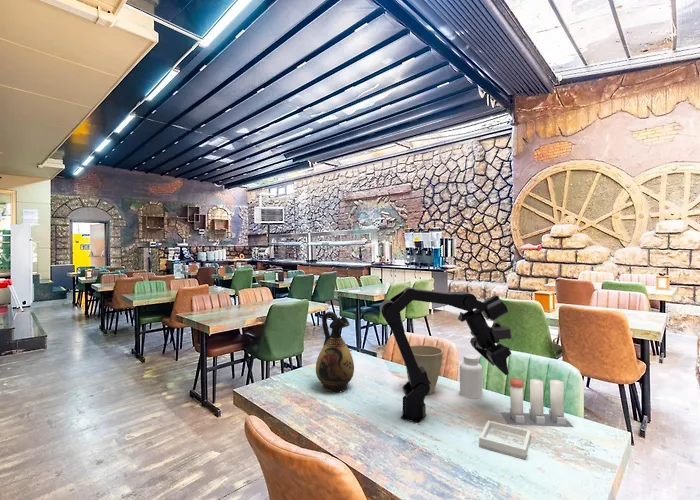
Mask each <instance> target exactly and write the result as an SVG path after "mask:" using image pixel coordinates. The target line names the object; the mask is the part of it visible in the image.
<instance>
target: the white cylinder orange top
mask: <svg viewBox="0 0 700 500" xmlns="http://www.w3.org/2000/svg"><path fill="white" fill-rule="evenodd" d="M509 386H510V387H509V389H510V390H509V392H510V396H509V397H510V402H509V404H510V408H511V419H512V420H515V415H520V416H523V413H524V380H522V379H520V378H510V379H509Z"/></svg>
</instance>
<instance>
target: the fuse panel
mask: <svg viewBox="0 0 700 500" xmlns="http://www.w3.org/2000/svg"><path fill="white" fill-rule="evenodd" d="M529 386H530V387H529V395H530V396H529V398H530V401H529V402H530V408H529V411H528V413H526V412H523V416H520V415H515V420H512V419H511V407H509V412H501V411H499V414H500V415H501V416H502V418H503V420H504V421H505V422H506V425H510V426H538V427H539V426H541V427H555V428H556V427H560V428H575V427H574V425H573V424H572V423H570V421H569V420H568V419H567V418H566V417H565V398H564V397H565V396H564V395H565V390H564V389H565V385H564V382H563V381H562V380H560V379H550V380H549V388H550V391H549V393H550V396H549V397H550V399H549V400H550V409H548V413H544V381H543V380H541V379H538V378H530V379H529Z"/></svg>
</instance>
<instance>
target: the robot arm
mask: <svg viewBox="0 0 700 500" xmlns="http://www.w3.org/2000/svg"><path fill="white" fill-rule="evenodd" d="M413 301H418V302H425V303H431V304H441V305H446V306H451V307H453V308H456V309H459V310H461V311H460V312H459V315H458V317H457V320H458V321H459V322H461V323H463V322H466V324H467V326H468V328H469V330H470V335H471V336H473V337H471V338H470V341H469V343H470V345H471V346H472V348H474V350H475V351H476V352H477V353H479V355H480V356H482V357H483V358H484V359H485V360H486V361H487V362H489V363H490V364H491V365H492V366H495V367H496V368H497V369H498V370H499V371H500V372H502V374H504V376H508V375H509V368H508V362H507V359H508V358H509V357H510V355H512V351H511V349H510V348H509V347H508V346H506V345H505V344H502V343H500V342H501V341H500V340H507V339H508V340H511V339H512V330H511V328H510V327H508V326H506V325H501V324H500V323H499V322H493V321H495V320H497V319H499V318H501V317H503V316H504V315H507V314H508V313H509V310H508V307H507V305H506V304H505V303H504V301H503V300H502V299H500V297H499V295H496V294H493V295H492V296H490V298H487V299H486V300H484V301H481V300H478V299H477V297H476V296H475V295H474V294H472V293H470V292H468V291H462V290H461V291H449V292H446V291H445V292H444V291H436V290H428V289H421V288H414V287H410V286H409V287H408V286H407V287H405V288H404V289H403V290H402V291H400V292H399V293H397V294H396V295H394V296H392V297H391V298H390V299H386V300H385V299H384V300H383V301H382V302H381V303H380V305H379V311H380V313H381V315H382V317H383V318H384V320H385V322H386V324H387V326H389V328H390V330H391V331H392V332H391V333H392V335H393V337H394V340H395V342H396V345H397V348H398V350H399V352H400V355H401V357H402V360H403V363H404V365H405V368H406V375H407V382H406V383H405V384H403V386H402V387H401V388H402V391H403V393H404V396H402V414H401V415H400V419H402V420H407V421H410V422H414V423H419V424H420V423H421V422H422V420H424V418H425V417H426V416H427V413H426V409H427V408H426V405H427V404H426V403H425V398H426V396H427V394H428V393H429V391H430V385H429V384H431V382H430V381H429V379H428V376H427V372H426V371H425V369H424V368H423V366H421V367H418V365H417V362H416V360H415V357H414V355H413V352H412V350H411V347H410V346H411V345H410V342H409V341H408V337H407V335H406V333H405V330H404V327H403V322H402V316H401V312H402V311H403V310H404V309H405V308H407V306H409V304H410V303H412V302H413ZM462 311H465V312H462ZM486 320H490V321H492V322H493V323H492V326H489V324H488V322H487V321H486ZM428 395H429V394H428Z"/></svg>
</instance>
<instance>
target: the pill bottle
mask: <svg viewBox="0 0 700 500" xmlns="http://www.w3.org/2000/svg"><path fill="white" fill-rule="evenodd" d="M479 358H480V357H479V356H478V355H476V354H469V353H468V354H464V355H463V362H461V363H460V365H459V396H462V397H464V398H468V399H473V400H476V399H480V398H482V397H483V391H484V390H483V385H484V384H483V366H482V364H480V360H479Z"/></svg>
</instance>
